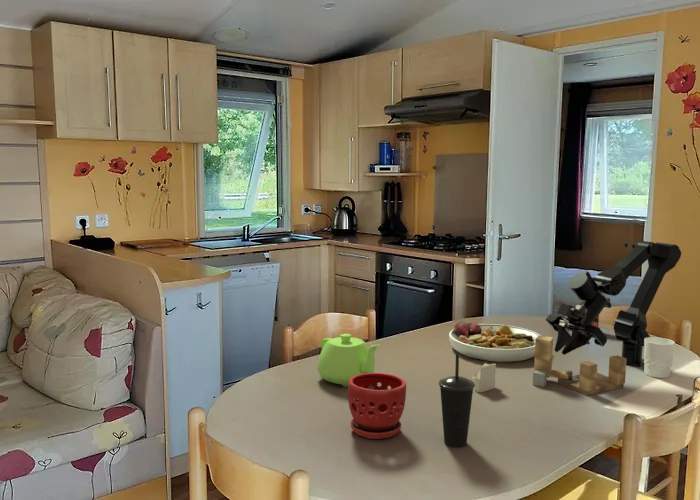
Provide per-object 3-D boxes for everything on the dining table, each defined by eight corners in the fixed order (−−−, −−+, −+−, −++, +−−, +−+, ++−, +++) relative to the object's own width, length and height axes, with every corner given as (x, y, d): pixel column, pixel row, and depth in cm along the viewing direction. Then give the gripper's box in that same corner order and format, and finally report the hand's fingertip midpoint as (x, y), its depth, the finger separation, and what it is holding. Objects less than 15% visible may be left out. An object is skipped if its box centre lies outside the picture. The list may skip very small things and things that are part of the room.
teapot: (396, 383, 174) (396, 337, 172) (360, 398, 163) (360, 349, 161) (339, 365, 189) (339, 323, 187) (302, 378, 178) (302, 333, 176)
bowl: (554, 346, 209) (555, 323, 208) (527, 371, 184) (528, 345, 183) (469, 333, 225) (469, 311, 224) (433, 354, 200) (434, 330, 199)
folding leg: (573, 376, 174) (575, 340, 172) (570, 381, 170) (572, 343, 169) (536, 371, 178) (538, 335, 177) (533, 375, 175) (535, 339, 173)
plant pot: (402, 445, 136) (403, 392, 134) (343, 440, 138) (343, 388, 136) (408, 421, 149) (408, 372, 147) (353, 417, 151) (353, 369, 149)
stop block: (535, 381, 175) (535, 369, 174) (546, 383, 173) (546, 371, 173) (532, 384, 172) (533, 372, 172) (543, 386, 171) (544, 374, 170)
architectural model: (470, 390, 170) (471, 364, 169) (488, 385, 173) (489, 359, 172) (479, 394, 167) (480, 367, 166) (497, 389, 171) (498, 362, 170)
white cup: (675, 379, 176) (678, 345, 175) (645, 378, 178) (648, 343, 176) (667, 370, 184) (670, 337, 182) (638, 369, 185) (641, 336, 184)
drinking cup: (434, 435, 141) (435, 349, 138) (467, 434, 141) (470, 348, 138) (442, 451, 133) (444, 360, 130) (477, 449, 134) (479, 359, 131)
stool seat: (594, 375, 180) (596, 348, 178) (624, 387, 170) (626, 358, 169) (557, 383, 174) (559, 354, 172) (587, 395, 164) (588, 365, 163)
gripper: (551, 286, 186) (521, 327, 183) (601, 299, 169) (569, 344, 166) (570, 309, 191) (541, 349, 188) (620, 323, 174) (590, 368, 171)
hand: (559, 352), depth 178 cm, fingers closed
